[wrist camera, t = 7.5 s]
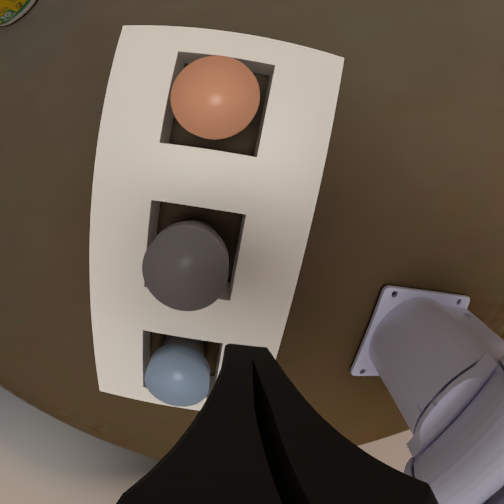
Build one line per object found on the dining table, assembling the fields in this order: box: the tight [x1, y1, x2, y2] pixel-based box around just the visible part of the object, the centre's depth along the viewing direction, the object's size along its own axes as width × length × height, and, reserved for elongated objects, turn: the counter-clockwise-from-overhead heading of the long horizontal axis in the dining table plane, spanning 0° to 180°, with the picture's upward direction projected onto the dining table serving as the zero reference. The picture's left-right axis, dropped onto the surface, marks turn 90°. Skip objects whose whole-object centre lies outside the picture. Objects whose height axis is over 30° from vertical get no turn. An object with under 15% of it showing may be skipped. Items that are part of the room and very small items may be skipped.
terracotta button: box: [171, 55, 260, 140], centre depth 14 cm, size 4×4×4 cm
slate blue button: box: [145, 335, 210, 407], centre depth 19 cm, size 4×4×4 cm
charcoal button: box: [142, 220, 229, 311], centre depth 16 cm, size 4×4×4 cm
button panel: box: [89, 25, 344, 410], centre depth 18 cm, size 12×24×2 cm, turn 169°
